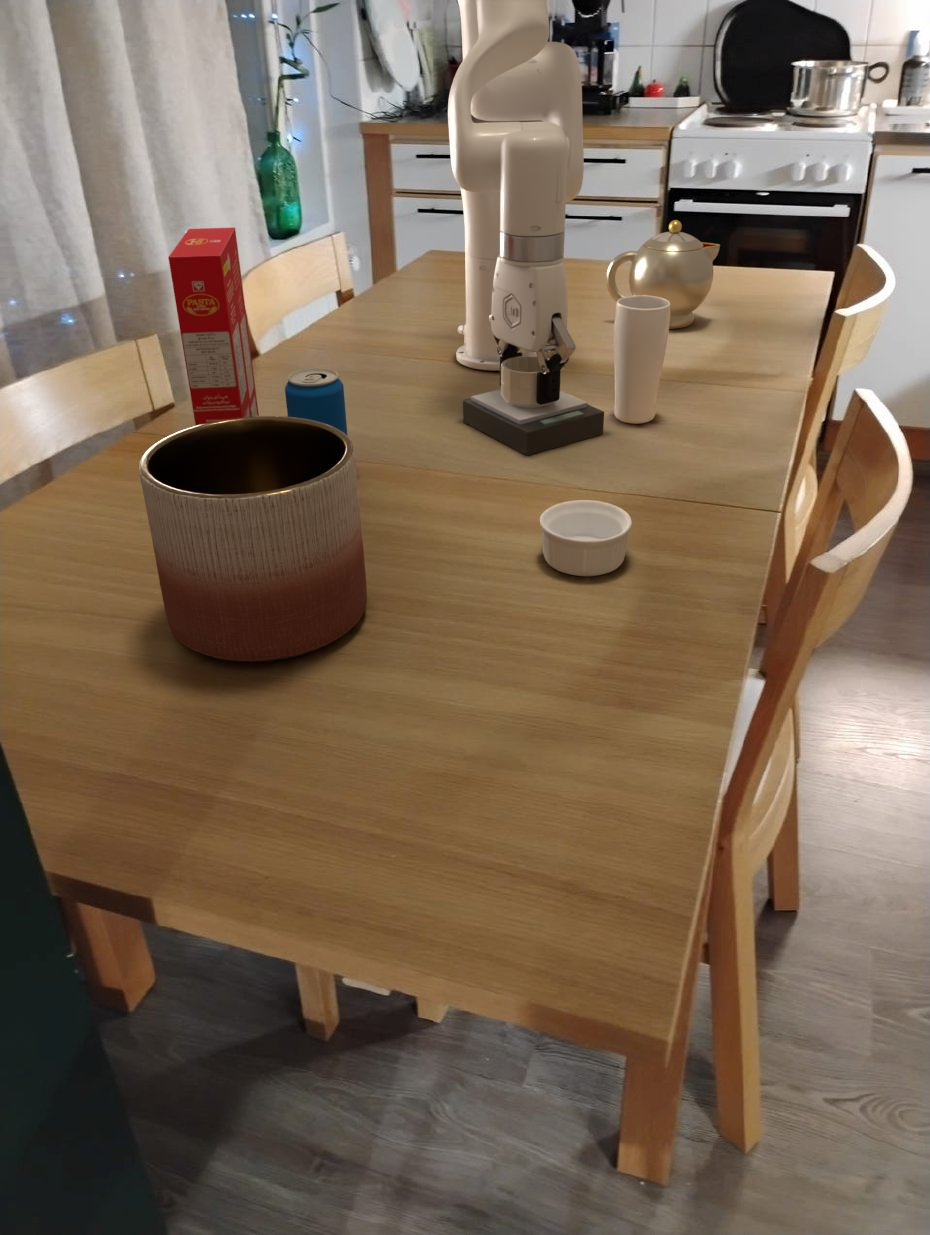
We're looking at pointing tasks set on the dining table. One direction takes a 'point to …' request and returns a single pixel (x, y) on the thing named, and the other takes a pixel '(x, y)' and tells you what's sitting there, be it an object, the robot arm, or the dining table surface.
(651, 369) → the drinking glass
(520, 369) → the bowl
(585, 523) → the ramekin
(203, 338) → the food packaging
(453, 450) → the dining table surface
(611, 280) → the teapot
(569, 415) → the scale
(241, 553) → the planter
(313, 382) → the beverage can
